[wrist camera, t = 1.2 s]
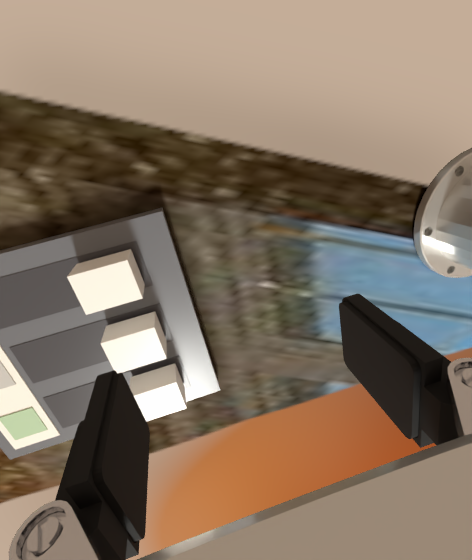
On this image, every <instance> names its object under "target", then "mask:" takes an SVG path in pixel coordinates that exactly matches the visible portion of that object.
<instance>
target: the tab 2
mask: <svg viewBox="0 0 472 560" xmlns="http://www.w3.org/2000/svg"><path fill="white" fill-rule="evenodd" d="M100 344H101V346H102V348H103V350H104V352H105V354H106V356H107V358H108V360H109V362H110V364H111V366H112V368H113V370H114V371H116V372H117V374H118V373H122V372H125V371H129V370H132V369H135V368H138V367H141V366H145V365H148V364H151V363H154V362H157V361H161V360H164V359H167V341H166V338H165V336H164V333H163V330H162V328H161V325H160V323H159V320H158V317H157V315H156V312H151V313H148V314H144V315H141V316H138V317H134V318H131V319H128V320H124V321H121V322H117V323H114V324H111V325H107V326H106V328H105V331H104V334H103V337H102V340H101V343H100Z"/></svg>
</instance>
